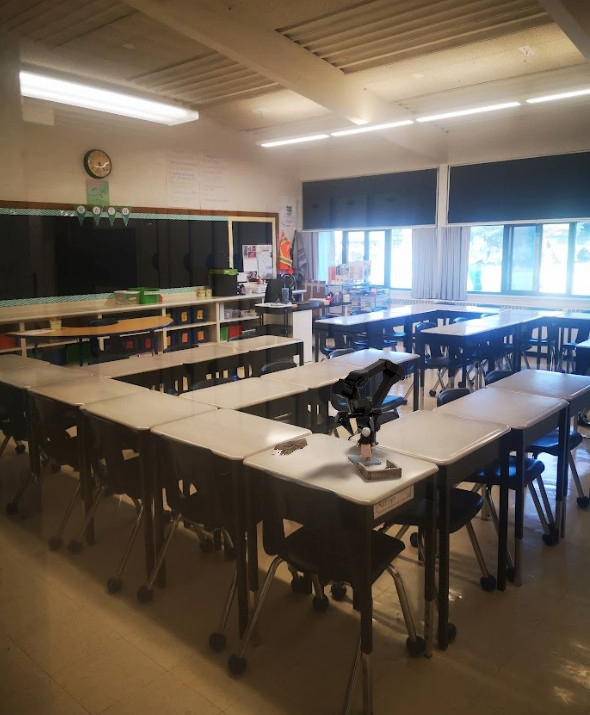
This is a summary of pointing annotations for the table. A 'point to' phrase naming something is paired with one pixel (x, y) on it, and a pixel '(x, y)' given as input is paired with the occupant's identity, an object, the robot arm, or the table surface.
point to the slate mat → (364, 462)
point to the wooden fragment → (291, 446)
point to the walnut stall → (380, 471)
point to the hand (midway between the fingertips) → (364, 434)
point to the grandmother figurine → (365, 444)
